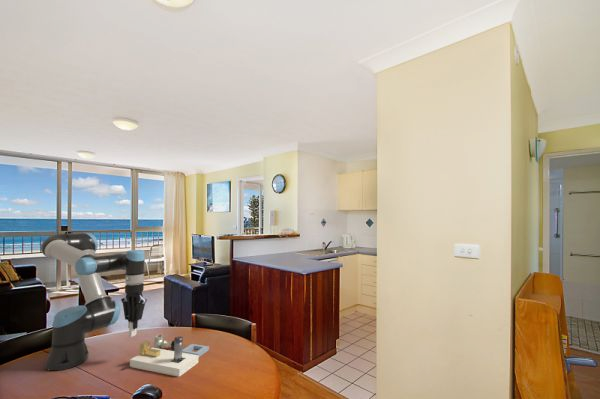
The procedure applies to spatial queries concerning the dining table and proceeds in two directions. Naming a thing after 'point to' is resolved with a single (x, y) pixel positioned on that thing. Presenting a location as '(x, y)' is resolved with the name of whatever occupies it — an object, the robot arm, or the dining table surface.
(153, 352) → the yellow l-shaped bracket
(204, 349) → the gray square-hole plate
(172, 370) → the socket board
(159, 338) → the valve
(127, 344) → the dining table surface
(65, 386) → the dining table surface
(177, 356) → the drill peg
